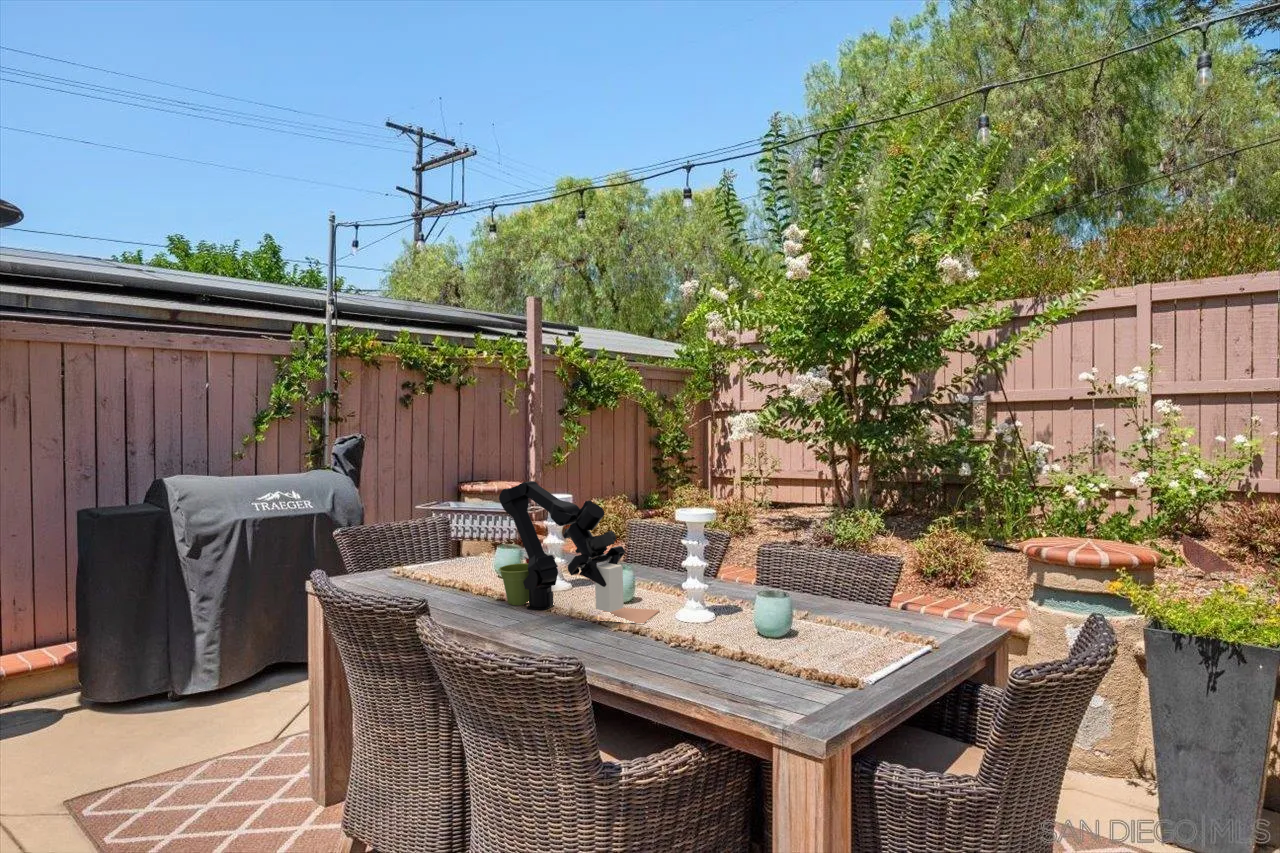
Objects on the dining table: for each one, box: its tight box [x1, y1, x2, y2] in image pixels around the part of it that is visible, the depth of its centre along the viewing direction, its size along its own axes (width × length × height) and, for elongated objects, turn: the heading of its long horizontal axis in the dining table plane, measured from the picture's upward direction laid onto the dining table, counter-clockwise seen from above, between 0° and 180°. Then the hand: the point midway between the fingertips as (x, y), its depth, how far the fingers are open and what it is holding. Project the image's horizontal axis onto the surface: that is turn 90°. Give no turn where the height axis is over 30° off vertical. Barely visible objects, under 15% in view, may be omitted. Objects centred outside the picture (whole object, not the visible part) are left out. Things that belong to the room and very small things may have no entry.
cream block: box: [594, 563, 625, 612], centre depth 222 cm, size 6×6×12 cm
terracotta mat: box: [590, 607, 661, 624], centre depth 230 cm, size 16×14×1 cm
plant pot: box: [498, 562, 529, 606], centre depth 248 cm, size 12×12×11 cm
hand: (612, 583), depth 221 cm, fingers closed on cream block, 5 cm apart
